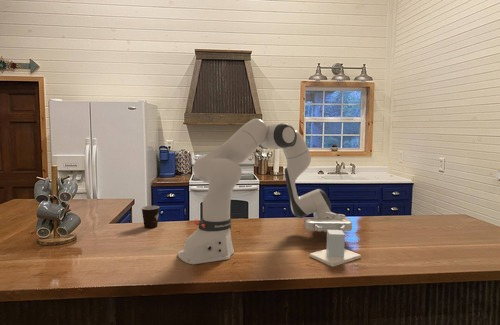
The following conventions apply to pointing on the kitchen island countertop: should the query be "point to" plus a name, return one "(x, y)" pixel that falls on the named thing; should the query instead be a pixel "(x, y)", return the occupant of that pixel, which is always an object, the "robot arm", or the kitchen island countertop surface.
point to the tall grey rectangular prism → (335, 243)
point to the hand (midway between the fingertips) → (331, 230)
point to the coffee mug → (150, 216)
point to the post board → (335, 261)
